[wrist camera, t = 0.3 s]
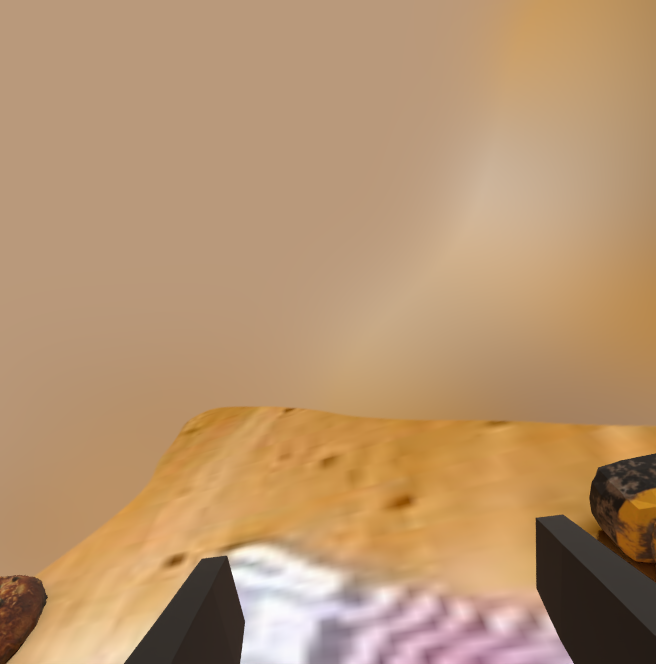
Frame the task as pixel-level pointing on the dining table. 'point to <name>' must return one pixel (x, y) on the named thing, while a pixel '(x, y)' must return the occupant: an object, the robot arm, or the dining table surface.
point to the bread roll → (18, 611)
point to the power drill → (628, 505)
